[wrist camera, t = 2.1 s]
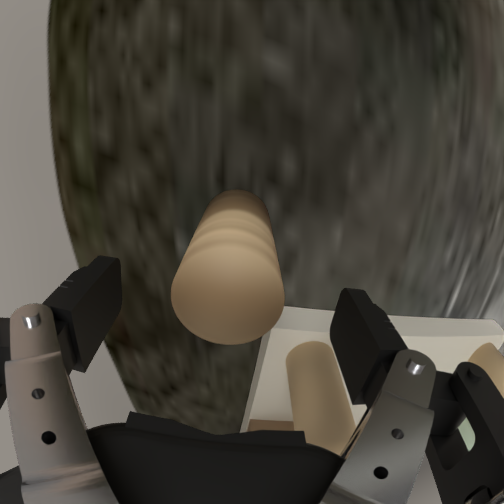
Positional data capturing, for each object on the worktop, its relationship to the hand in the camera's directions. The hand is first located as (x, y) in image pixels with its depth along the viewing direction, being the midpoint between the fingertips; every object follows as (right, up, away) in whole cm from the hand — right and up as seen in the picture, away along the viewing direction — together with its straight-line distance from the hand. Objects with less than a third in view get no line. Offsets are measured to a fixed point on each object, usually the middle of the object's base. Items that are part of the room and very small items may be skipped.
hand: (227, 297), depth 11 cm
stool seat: (+11, -10, +12) cm, 19 cm away
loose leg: (0, +3, +6) cm, 7 cm away
